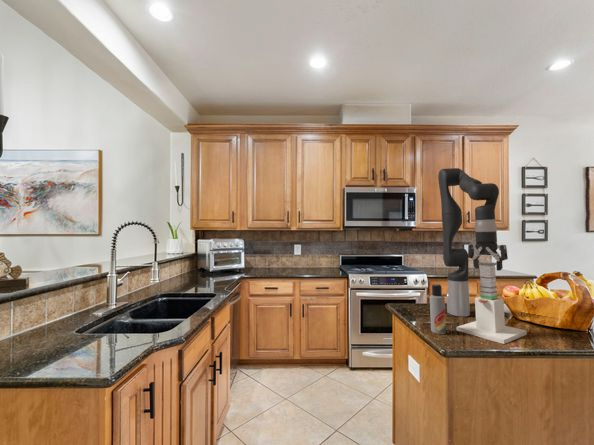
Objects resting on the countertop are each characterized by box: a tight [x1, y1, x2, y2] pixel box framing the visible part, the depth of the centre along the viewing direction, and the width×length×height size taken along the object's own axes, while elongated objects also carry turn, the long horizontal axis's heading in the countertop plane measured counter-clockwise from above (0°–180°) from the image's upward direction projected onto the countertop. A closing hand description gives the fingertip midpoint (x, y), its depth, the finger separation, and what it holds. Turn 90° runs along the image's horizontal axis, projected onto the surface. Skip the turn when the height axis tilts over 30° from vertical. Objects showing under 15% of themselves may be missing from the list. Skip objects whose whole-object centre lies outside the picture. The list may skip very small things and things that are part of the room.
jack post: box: [478, 261, 498, 300], centre depth 119 cm, size 5×5×20 cm
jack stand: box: [456, 296, 528, 345], centre depth 119 cm, size 18×18×14 cm
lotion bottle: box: [429, 283, 447, 335], centre depth 121 cm, size 6×6×20 cm
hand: (487, 269), depth 119 cm, fingers open, 8 cm apart
